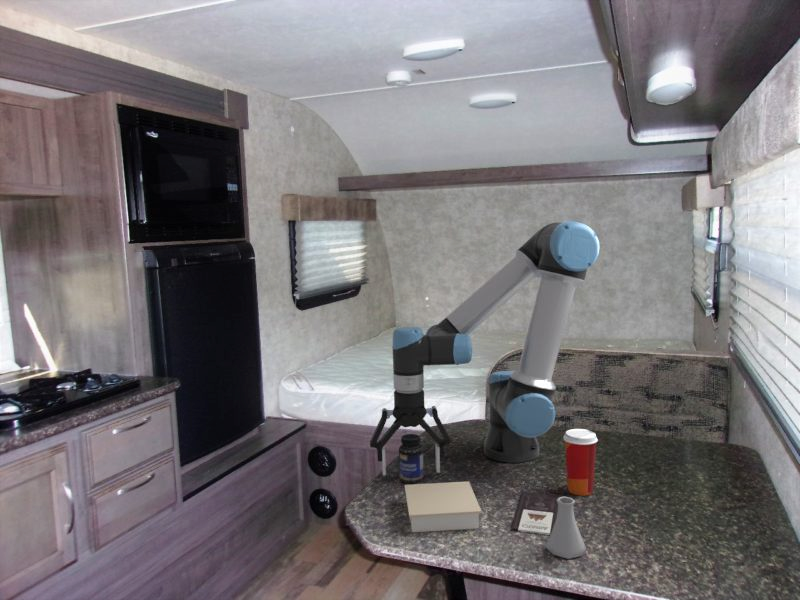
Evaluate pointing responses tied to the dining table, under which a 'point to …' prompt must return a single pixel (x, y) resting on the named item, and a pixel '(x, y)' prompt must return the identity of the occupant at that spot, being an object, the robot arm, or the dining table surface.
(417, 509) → the podium
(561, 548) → the flask
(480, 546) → the dining table surface
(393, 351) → the robot arm
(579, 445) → the paper cup
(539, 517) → the chocolate bar
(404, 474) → the pill bottle
